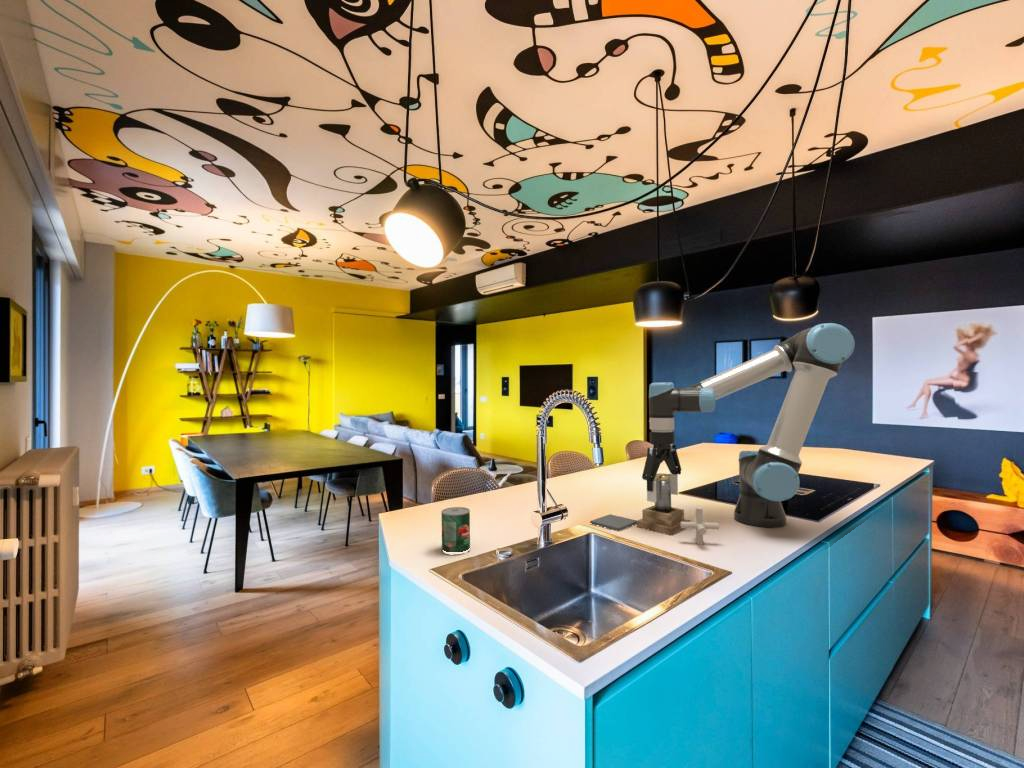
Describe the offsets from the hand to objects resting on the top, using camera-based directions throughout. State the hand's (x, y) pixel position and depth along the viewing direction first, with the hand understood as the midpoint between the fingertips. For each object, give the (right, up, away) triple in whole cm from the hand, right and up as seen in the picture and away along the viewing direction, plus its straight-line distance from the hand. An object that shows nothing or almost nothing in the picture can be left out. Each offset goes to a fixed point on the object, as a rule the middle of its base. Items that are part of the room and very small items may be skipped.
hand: (662, 497), depth 147 cm
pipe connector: (+5, -9, -16) cm, 19 cm away
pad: (-15, -9, +4) cm, 18 cm away
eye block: (0, -9, 0) cm, 9 cm away
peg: (0, -7, 0) cm, 7 cm away
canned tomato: (-63, -10, -19) cm, 67 cm away
